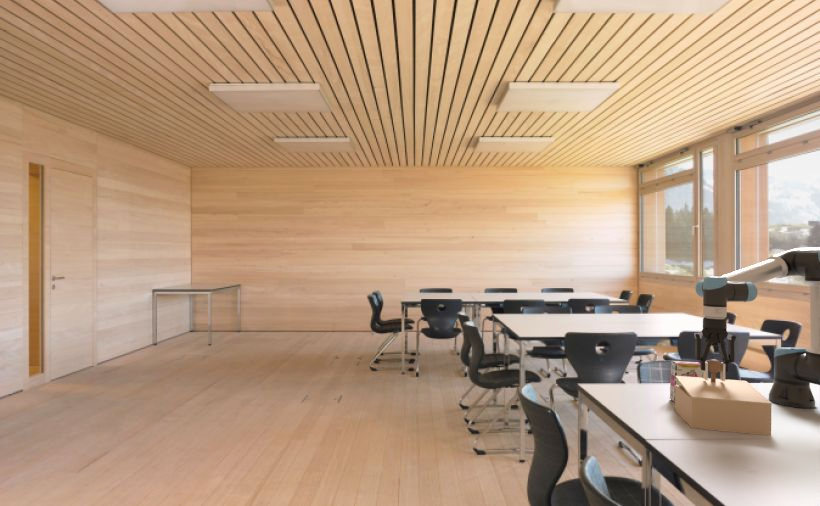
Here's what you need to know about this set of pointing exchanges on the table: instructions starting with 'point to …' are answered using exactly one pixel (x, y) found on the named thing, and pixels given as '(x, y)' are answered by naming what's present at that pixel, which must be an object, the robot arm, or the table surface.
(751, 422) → the wooden box
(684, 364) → the candy bar box
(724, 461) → the table surface
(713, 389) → the wooden lid with knob
